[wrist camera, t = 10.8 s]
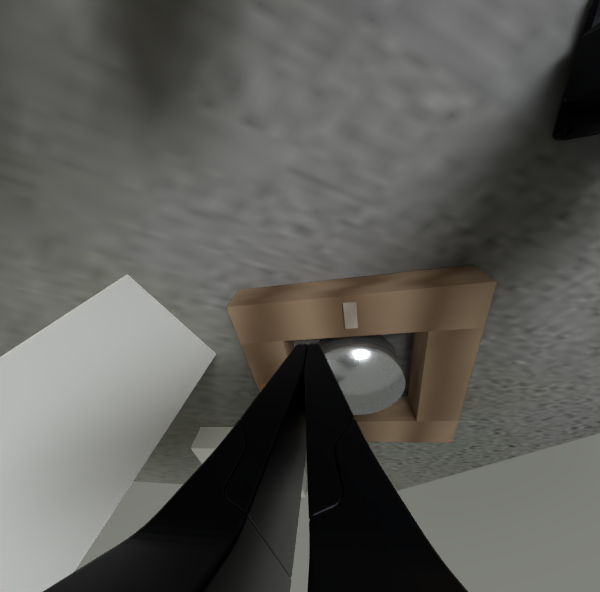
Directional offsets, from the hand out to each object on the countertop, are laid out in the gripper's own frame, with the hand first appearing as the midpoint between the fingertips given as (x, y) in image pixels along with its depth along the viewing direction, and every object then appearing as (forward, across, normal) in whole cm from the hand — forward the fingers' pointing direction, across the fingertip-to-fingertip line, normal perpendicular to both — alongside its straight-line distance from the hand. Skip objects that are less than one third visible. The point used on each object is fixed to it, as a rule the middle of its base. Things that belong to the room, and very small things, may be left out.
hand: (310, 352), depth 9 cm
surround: (+12, -2, +13) cm, 18 cm away
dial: (+12, 0, +13) cm, 18 cm away
